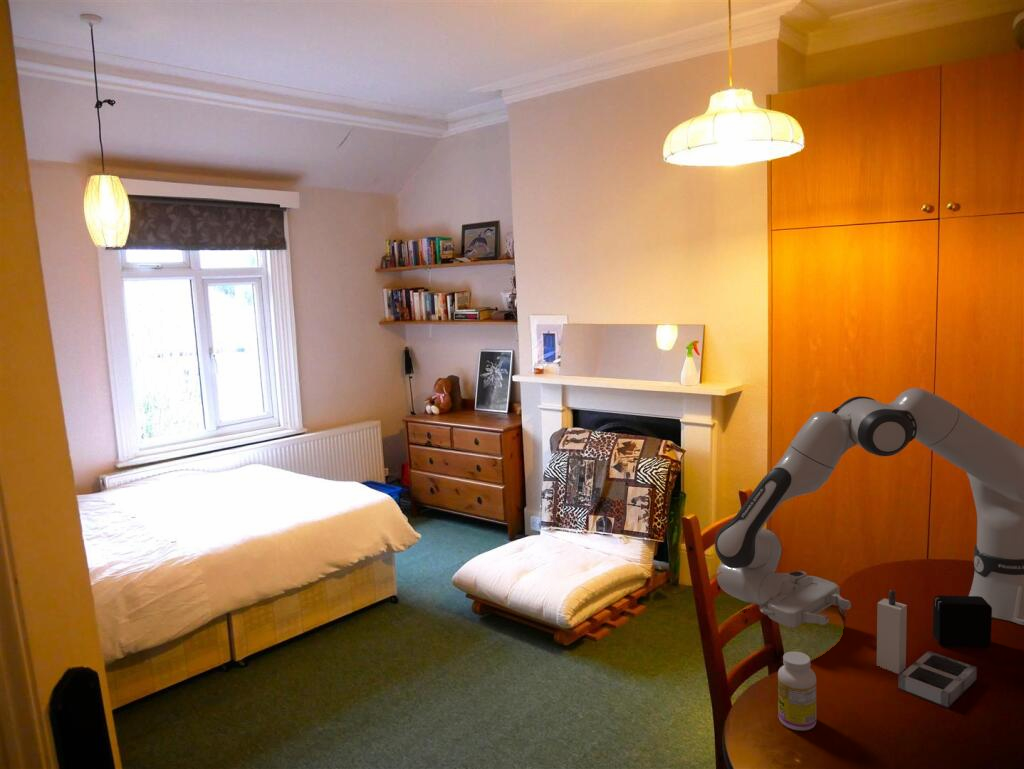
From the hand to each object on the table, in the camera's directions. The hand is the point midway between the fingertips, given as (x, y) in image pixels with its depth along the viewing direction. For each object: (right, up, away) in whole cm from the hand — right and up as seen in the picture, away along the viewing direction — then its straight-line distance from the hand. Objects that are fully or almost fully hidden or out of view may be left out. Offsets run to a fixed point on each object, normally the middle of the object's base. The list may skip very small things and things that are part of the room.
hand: (838, 613), depth 160 cm
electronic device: (+27, -7, 0) cm, 27 cm away
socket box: (+13, -10, -15) cm, 22 cm away
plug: (+8, -9, -8) cm, 14 cm away
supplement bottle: (-18, -13, -23) cm, 32 cm away
